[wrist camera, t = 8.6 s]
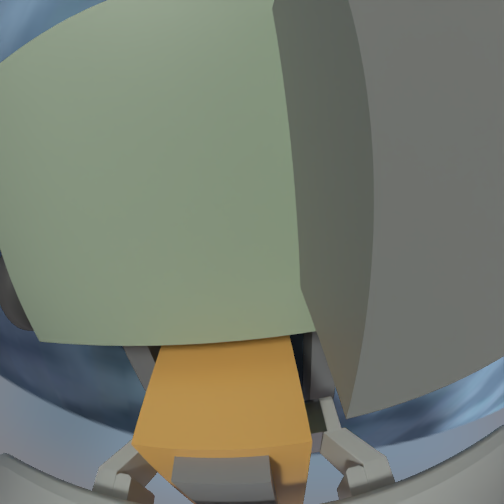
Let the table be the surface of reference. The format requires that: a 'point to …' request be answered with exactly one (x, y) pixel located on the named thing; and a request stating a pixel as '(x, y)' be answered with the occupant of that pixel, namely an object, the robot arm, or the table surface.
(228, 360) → the orange block grey plate
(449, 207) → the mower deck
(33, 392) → the table surface
